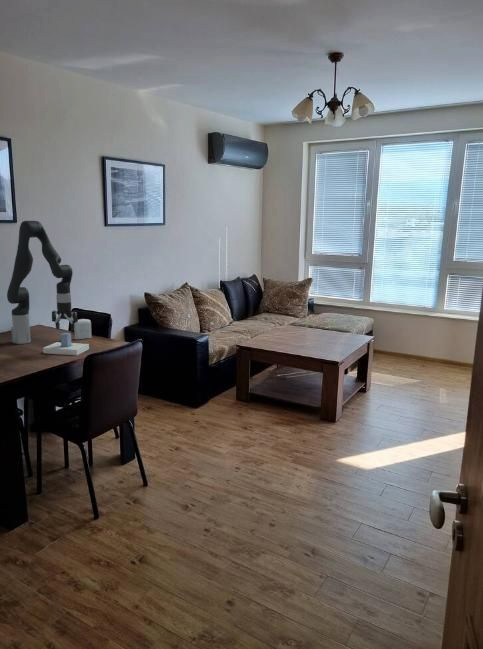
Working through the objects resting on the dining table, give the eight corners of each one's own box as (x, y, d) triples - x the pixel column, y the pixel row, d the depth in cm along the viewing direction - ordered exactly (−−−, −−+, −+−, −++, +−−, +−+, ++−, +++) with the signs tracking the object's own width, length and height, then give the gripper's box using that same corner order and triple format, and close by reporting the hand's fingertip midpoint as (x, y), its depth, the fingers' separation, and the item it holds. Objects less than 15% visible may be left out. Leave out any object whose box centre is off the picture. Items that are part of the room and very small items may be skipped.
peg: (61, 349, 268) (60, 334, 266) (65, 348, 272) (64, 332, 270) (68, 350, 267) (67, 334, 266) (71, 348, 271) (70, 333, 270)
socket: (43, 353, 265) (43, 347, 264) (56, 347, 278) (56, 342, 278) (76, 355, 262) (76, 349, 261) (89, 349, 275) (88, 344, 275)
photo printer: (90, 336, 306) (89, 317, 303) (92, 338, 302) (91, 319, 300) (74, 338, 300) (72, 319, 297) (75, 340, 296) (74, 320, 294)
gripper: (48, 301, 262) (49, 330, 265) (72, 302, 260) (73, 331, 263) (55, 299, 269) (57, 327, 272) (79, 300, 267) (80, 329, 270)
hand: (65, 329), depth 268 cm, fingers open, 8 cm apart
